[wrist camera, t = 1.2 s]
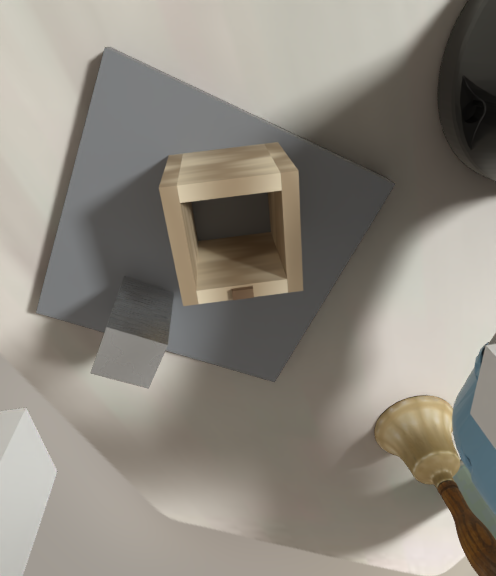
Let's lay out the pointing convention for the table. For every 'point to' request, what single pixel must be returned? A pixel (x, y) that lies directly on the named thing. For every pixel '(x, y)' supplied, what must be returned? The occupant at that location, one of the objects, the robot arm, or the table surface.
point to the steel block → (135, 333)
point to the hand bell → (436, 467)
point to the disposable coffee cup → (475, 499)
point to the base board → (207, 215)
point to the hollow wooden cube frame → (240, 249)
